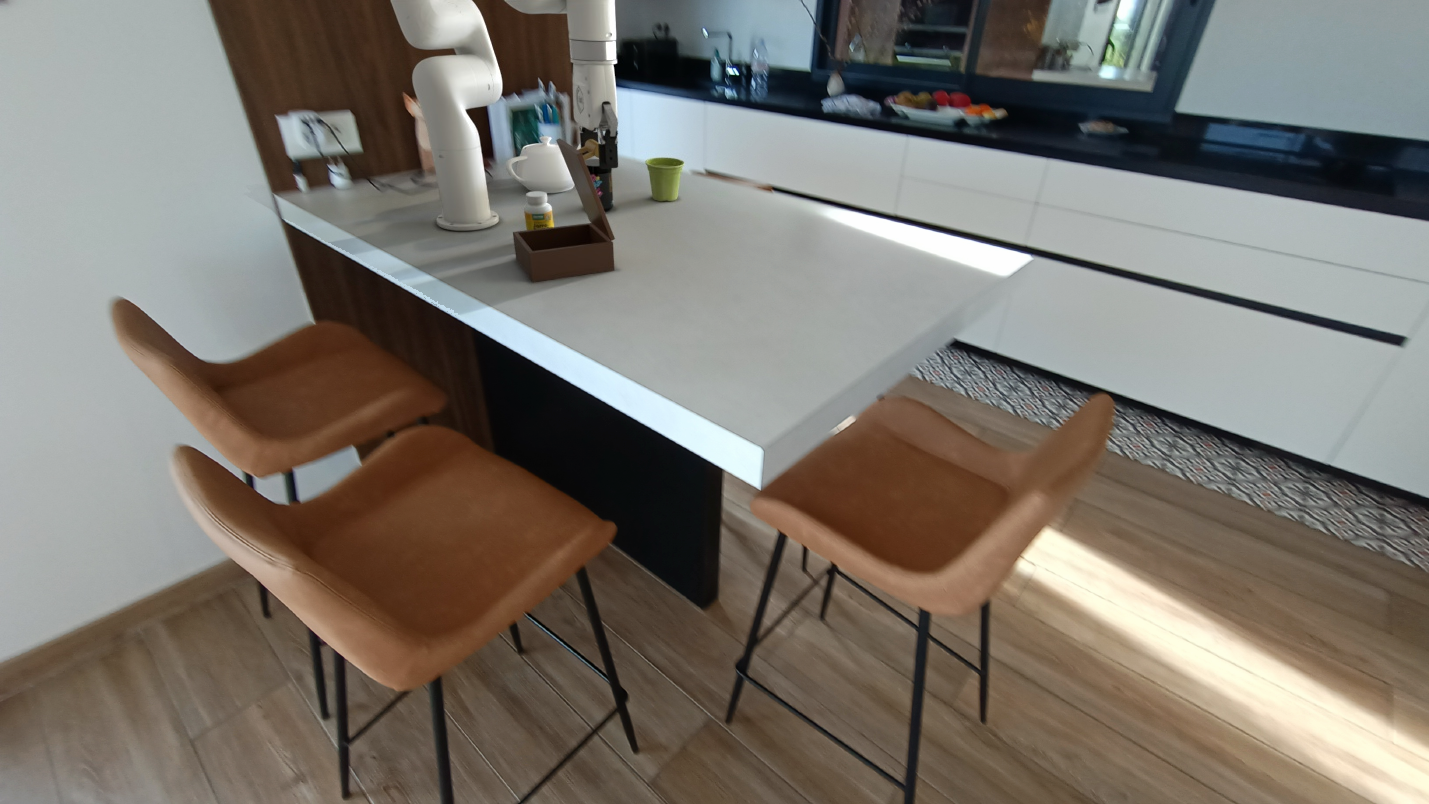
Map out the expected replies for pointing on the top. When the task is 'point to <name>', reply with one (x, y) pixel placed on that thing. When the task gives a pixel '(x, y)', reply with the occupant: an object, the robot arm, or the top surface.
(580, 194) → the brown drawer front
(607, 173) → the supplement container
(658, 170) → the plant pot
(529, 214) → the supplement bottle
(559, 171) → the teapot
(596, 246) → the brown box
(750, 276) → the top surface
